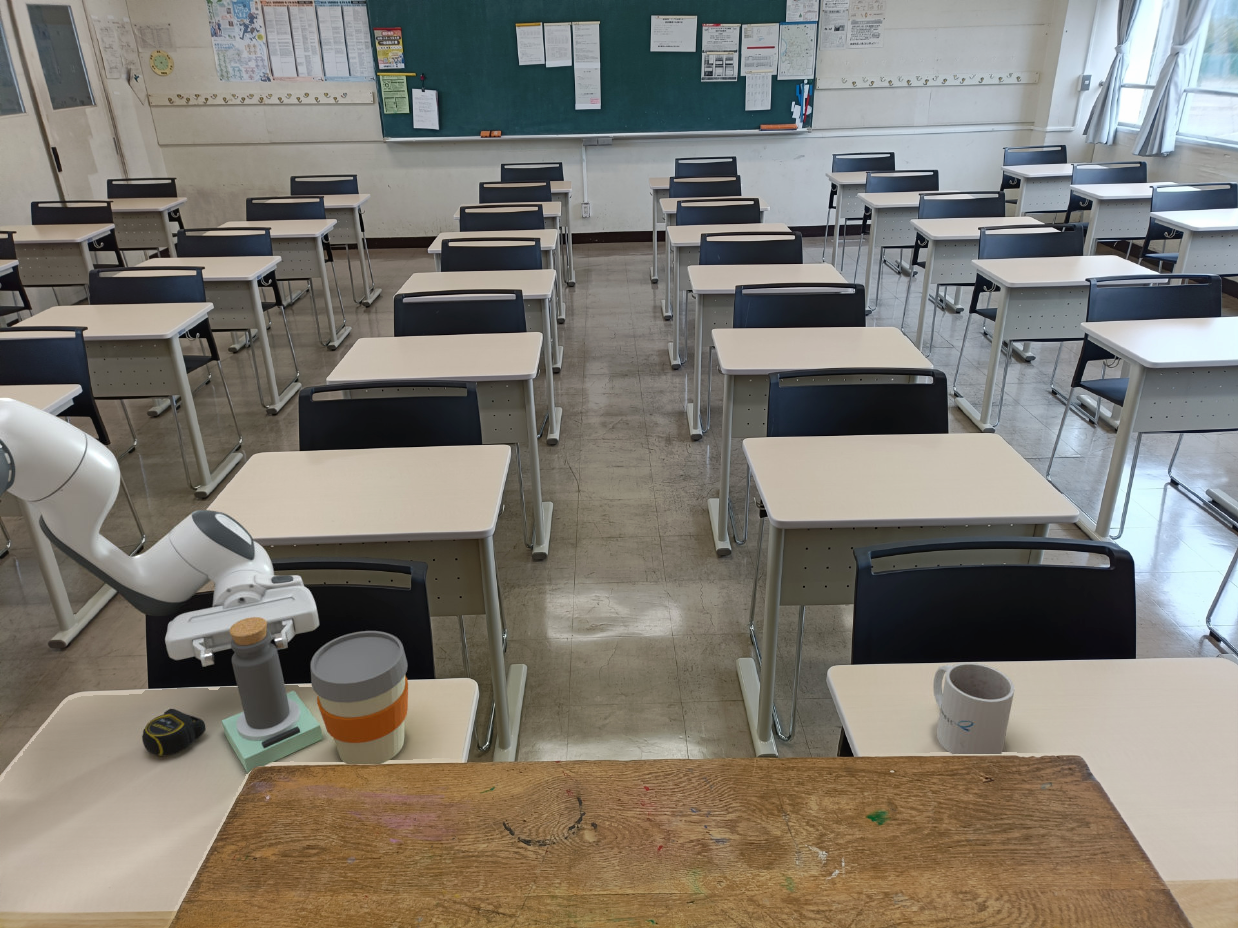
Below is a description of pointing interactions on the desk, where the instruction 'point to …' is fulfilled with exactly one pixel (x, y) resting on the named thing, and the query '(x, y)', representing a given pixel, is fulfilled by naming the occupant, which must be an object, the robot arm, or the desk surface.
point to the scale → (272, 735)
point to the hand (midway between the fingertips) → (244, 652)
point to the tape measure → (171, 732)
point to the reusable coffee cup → (362, 695)
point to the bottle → (258, 674)
